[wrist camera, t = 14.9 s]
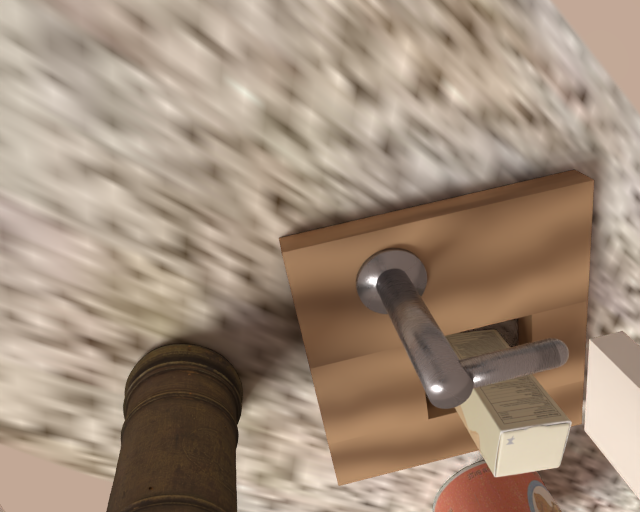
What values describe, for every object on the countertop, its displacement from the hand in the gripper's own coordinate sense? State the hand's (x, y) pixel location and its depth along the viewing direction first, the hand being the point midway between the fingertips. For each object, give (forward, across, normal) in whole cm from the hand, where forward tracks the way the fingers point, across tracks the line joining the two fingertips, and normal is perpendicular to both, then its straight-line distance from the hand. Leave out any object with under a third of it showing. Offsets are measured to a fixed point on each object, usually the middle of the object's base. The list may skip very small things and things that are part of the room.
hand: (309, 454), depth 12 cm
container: (+27, -10, -18) cm, 34 cm away
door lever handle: (+24, +9, -11) cm, 28 cm away
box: (+27, +13, -21) cm, 37 cm away
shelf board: (+27, +11, -18) cm, 34 cm away
